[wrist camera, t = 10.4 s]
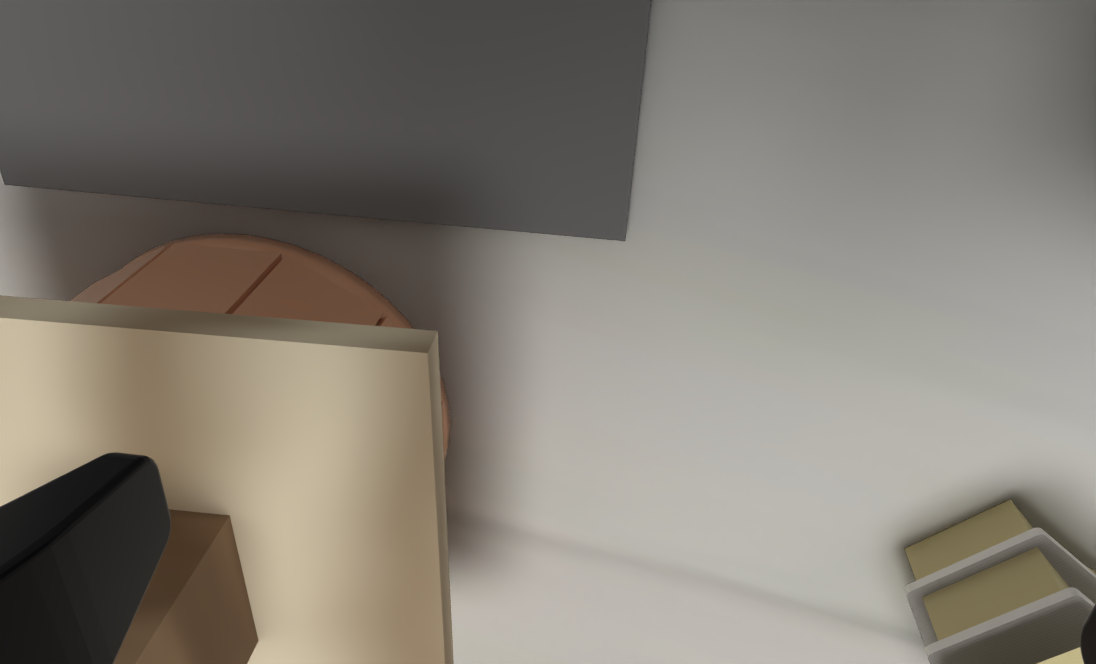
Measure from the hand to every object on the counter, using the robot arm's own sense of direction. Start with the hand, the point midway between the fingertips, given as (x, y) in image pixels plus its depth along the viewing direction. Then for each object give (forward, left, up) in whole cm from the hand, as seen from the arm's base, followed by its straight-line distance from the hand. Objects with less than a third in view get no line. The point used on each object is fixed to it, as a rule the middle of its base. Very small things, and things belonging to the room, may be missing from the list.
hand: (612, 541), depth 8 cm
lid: (+10, +9, -7) cm, 15 cm away
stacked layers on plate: (-12, +13, -14) cm, 23 cm away
